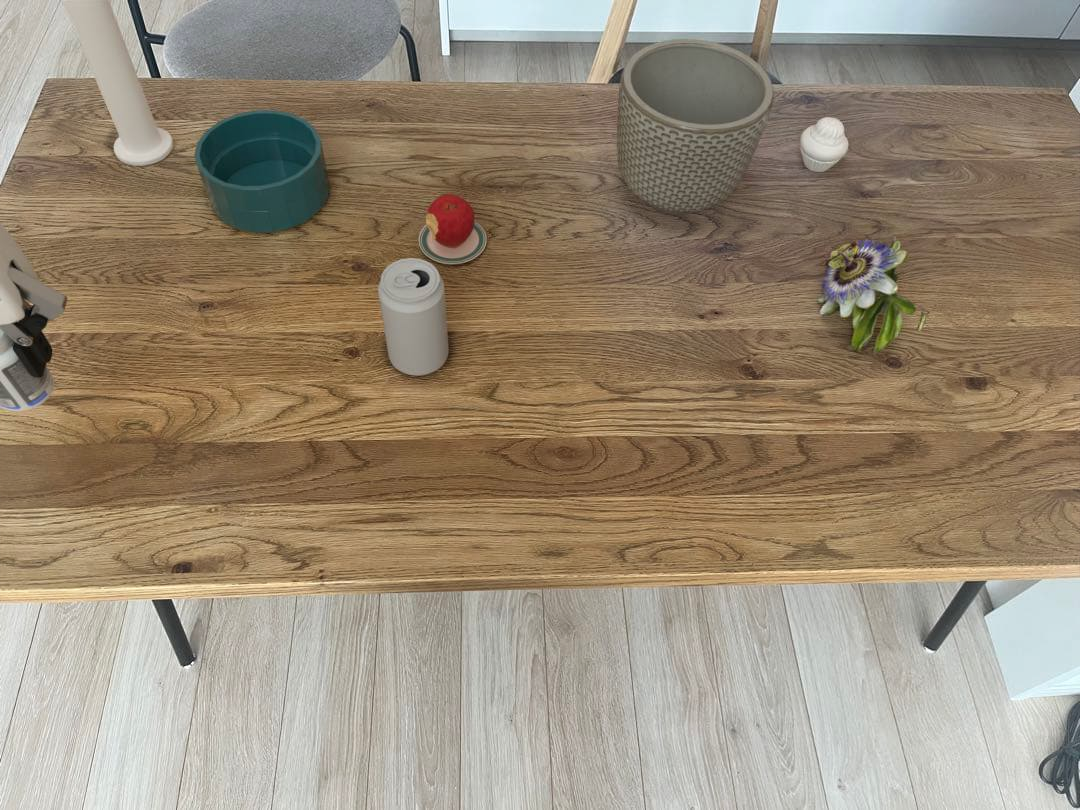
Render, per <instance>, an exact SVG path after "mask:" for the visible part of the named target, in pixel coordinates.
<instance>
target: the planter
mask: <svg viewBox="0 0 1080 810" xmlns="http://www.w3.org/2000/svg"><path fill="white" fill-rule="evenodd" d="M774 93H775V92H774V86H773V82H772V80H771V78H770V76H769V74H768V73H767V72H766V71H765V69H764V68H763V67H762V66H761V65H760V64H759V63H758V62H757V61H755V59H753V58H752V57H750V56H748V55H746V54H745V53H744V52H741V51H740V50H738V49H735V48H733V47H731V46H728V45H724V44H722V43H719V42H714V41H709V40H704V39H695V38H673V39H668V40H662V41H659V42H654V43H652V44H649V45H647V46H644V47H643V48H640V50H637V51H636V52H635V53H633V54H632V55H631V56H630V57H629V59H628V60H627V61H626V63H625V65H624V67H623V68H622V73H621V75H620V80H619V86H618V97H617V114H616V116H617V118H616V154H617V155H616V156H617V165H618V169H619V172H620V175H621V178H622V180H623V181H624V183H625V185H626V186H627V188H628V189H629V190H630V191H631V192H632V193H633V194H634V195H635V196H636V197H637V198H639V199H640V200H641V201H643V202H645V204H647V205H648V206H649V208H652V209H653V210H655V211H656V212H659V213H662V214H666V215H670V216H687V215H691V214H693V213H696V212H701V211H705V210H709V209H712V208H713V207H715V206H717V205H719V204H721V203H723V202H724V201H725V200H727V199H728V198H729V197H730V196H731V195H732V193H734V192H735V190H736V189H737V188H738V186H739V184H740V182H741V181H742V179H743V177H744V176H745V174H746V172H747V171H748V168H749V166H750V163H751V162H752V159H753V157H754V155H755V153H756V151H757V148H758V145H759V143H760V141H761V138H762V135H763V133H764V131H765V128H766V126H767V123H768V119H769V117H770V115H771V111H772V108H773V103H774Z"/></svg>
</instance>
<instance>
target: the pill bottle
mask: <svg viewBox="0 0 1080 810" xmlns="http://www.w3.org/2000/svg"><path fill="white" fill-rule="evenodd" d="M14 342H15V341H14V340H12V339H11V338H10V337H9V336H8V335H7V334H5V333H4V332H3V331H2V330H1V329H0V408H2V409H4V410H7V411H10V412H24V411H29V410H33V409H35V408H37V407H39V406H41V405H43V404H44V403H45V402H46V401H47V400H48V399H49V398H50V397H51V395H52V394H53V392H54V389H55V378H54V376H53V374H52V372H51V371H50V369H49V368H48V366H47V365H46V367H45V370H44V373H43V376H42V377H41V378H34V377H33V376H31V375H30V374H29V372H28V371H27V369H26V368H25V366H24V365H23V364H22V362H21V361H20V359H19V358H18V357H17V355H16V354H15V352H14V351H13V345H14Z"/></svg>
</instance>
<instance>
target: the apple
mask: <svg viewBox="0 0 1080 810" xmlns="http://www.w3.org/2000/svg"><path fill="white" fill-rule="evenodd" d="M475 216H476V215H475V211H474V208H473V207H472V206H471V204H470V203H469V202H468V201H467V200H466V199H464V198H463V197H461V196H459V195H457V194H453V193H447V194H442V195H440V196H438V197H437V198H435V199H434V200H433V201H432V203H431V204H429V207H428V208H427V211H426V215H425V223H426V224H425V225H424V226H423V227H422V229H421V230H420V232H419V234H418V245H419V248H420V251H421V252H422V253H423V254H424V255H425V256H426V257H427V258H428V259H431V260H432V261H434V262H436V263H440V264H444V265H460V264H465V263H469V262H471V261H472V260H474V259H476V258H477V257H479V256H480V255H482V253H483V252H484V250H485V248H486V246H487V234H486V231H485V230H484V228H483V227H482V226H481V225H480V223H478V222H477V221H476V217H475Z"/></svg>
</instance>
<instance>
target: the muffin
mask: <svg viewBox="0 0 1080 810" xmlns="http://www.w3.org/2000/svg"><path fill="white" fill-rule="evenodd" d="M799 148H800V149H799V150H800V155H801V158H802V161H803V164H804V166H805V168H806V169H808V170H809V171H810V172H814V173H823V172H826V171H828V170H829V169H831V168H832V167H833V166H834V165H836V164H837V163H838V162H839V161H840V160H841V159H842V158H843V157H844V156H845V155H846V154H847V152H848V149H849V140H848V137H846V135H845V127H844V124H843V122H842V121H840V119H838V118H836V117H832V116H829V117H828V116H825V117H822V118H820V119H819V120H818V121H816V124H812V125H810V126H808V127H807V128H806V129H804V130H803V131H802V133H801V135H800V139H799Z"/></svg>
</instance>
